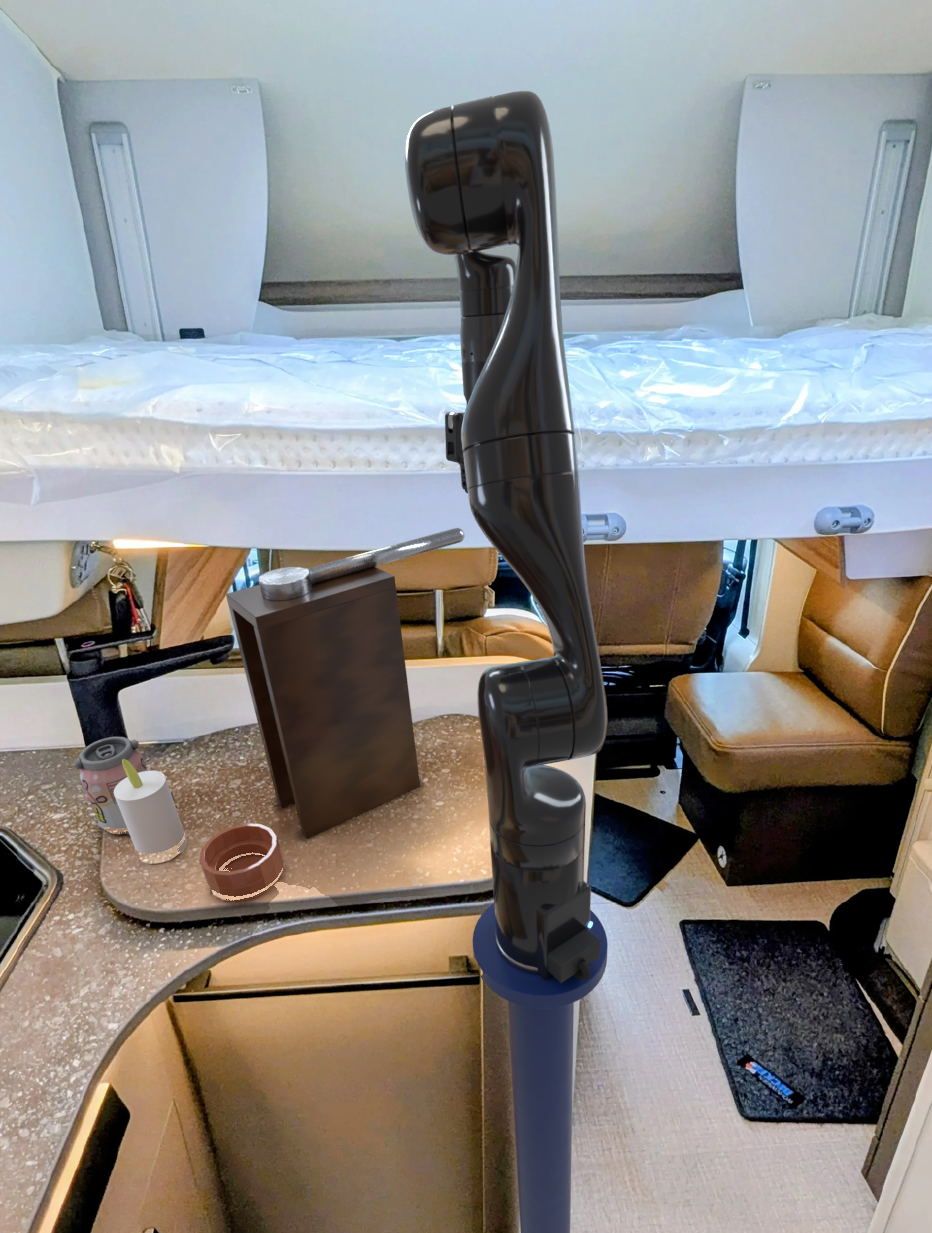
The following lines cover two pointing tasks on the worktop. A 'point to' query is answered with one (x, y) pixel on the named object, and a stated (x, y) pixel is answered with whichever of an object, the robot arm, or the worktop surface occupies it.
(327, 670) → the shelf
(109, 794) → the beverage can
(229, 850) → the bowl
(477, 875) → the worktop surface
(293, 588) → the ladle
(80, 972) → the worktop surface
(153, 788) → the candle
